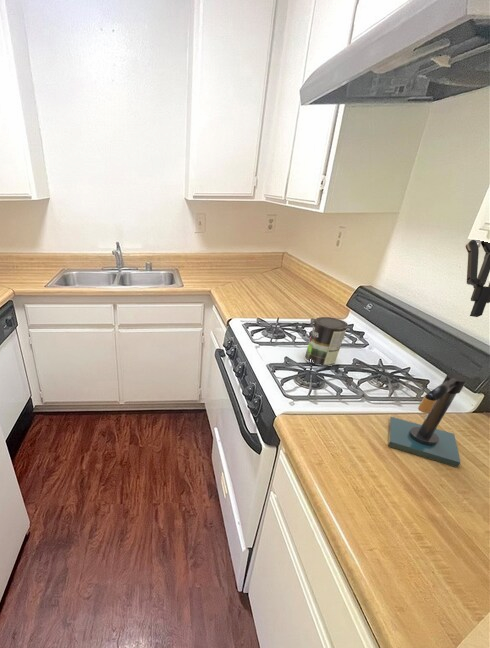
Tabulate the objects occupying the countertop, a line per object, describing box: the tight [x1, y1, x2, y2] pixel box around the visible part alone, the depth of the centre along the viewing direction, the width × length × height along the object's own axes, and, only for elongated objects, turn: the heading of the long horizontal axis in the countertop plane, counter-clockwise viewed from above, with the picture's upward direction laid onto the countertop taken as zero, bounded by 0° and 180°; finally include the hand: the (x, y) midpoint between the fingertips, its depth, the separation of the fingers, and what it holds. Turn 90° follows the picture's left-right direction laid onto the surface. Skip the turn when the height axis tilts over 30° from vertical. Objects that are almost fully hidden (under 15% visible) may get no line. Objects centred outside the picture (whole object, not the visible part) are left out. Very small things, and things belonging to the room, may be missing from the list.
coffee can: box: [304, 316, 349, 366], centre depth 118 cm, size 10×10×14 cm
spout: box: [417, 373, 468, 414], centre depth 73 cm, size 15×4×4 cm, turn 126°
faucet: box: [387, 392, 462, 468], centre depth 81 cm, size 14×12×15 cm
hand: (475, 315), depth 83 cm, fingers closed
